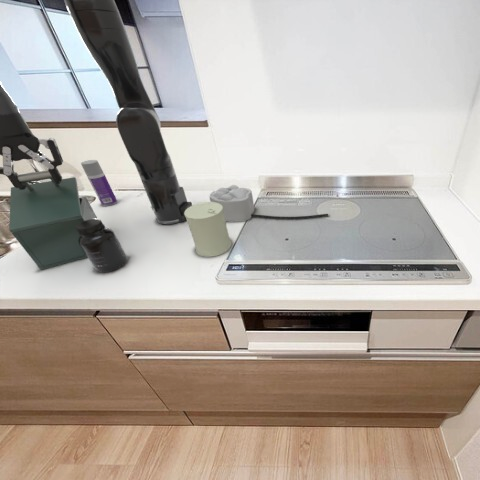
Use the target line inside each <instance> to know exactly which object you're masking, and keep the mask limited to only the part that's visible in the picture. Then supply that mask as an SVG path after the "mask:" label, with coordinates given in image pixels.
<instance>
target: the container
mask: <svg viewBox="0 0 480 480" xmlns="http://www.w3.org/2000/svg"><path fill="white" fill-rule="evenodd" d="M80 165H81V167H82V169H83V171H84V173H85V175H86V177H87V179H88V181H89V183H90V185H91V187H92V189H93V191H94V192H95V194H96V196H97V199H98V200H99V202H100V205H101V206H103V207H110V206H113V205H116V204H117V203H118V200H117V197H116V195H115V193H114V191H113V189H112V187H111V184H110V182H109V181H108V179H107V177H106V174H105V172H104V171H103V168H102V167H101V165H100V163H99V161H98V160H97V159H89V160H88V159H87V160H84V161H82V162H80Z"/></svg>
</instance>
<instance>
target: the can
mask: <svg viewBox="0 0 480 480" xmlns="http://www.w3.org/2000/svg"><path fill="white" fill-rule="evenodd" d="M184 215H185V217H186V219H185V221H186V223H187V225H188V228H189V231H190V233H191V238H192V241H193V244H194V246H195V252H196V253H197V254H198V255H199V256H200V257H206V258H209V257H210V258H212V257H217V256H220V255H222V254H224V253H226V252H228V251H229V249H230V248H231V246H232V241H231V239H230V236H229V231H228V227H227V221H225V217H224V213H223V207H222V205H221V204H219V203H216V202H210V201H203V202H199V203H195V204H192V206H190V207H189V208H187V209H186V210H185V212H184Z"/></svg>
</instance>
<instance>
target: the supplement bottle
mask: <svg viewBox="0 0 480 480" xmlns="http://www.w3.org/2000/svg"><path fill="white" fill-rule="evenodd" d="M75 228H76V230H77V232H78V234H79V235H80V237H79V240H78V243H79V245H80V246H81V248H82V249H83V251H84V252H85V254H86V255H87V257H86V258H88V260H89V261H90V263H91V264H92V266H93V267H94V269H95V270H96V271H98V272H99V273H108V272H113V271H116V270H118V269H120V268H121V267H123V266H124V265H125V264H126V263H127V262H128V256H127V254H126V252H125V250H124V248H123V246H122V245H121V243H120V241H119V239H118V237H117V236H116V234H115V232H114V231H113V230H112V229H110V228H108V227H106V226H105V224H104V223H103V221H102V220H101V219H99V218H98V219H90V220H86V221H83V222H81V223H79V224H78V225H76V227H75Z"/></svg>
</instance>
